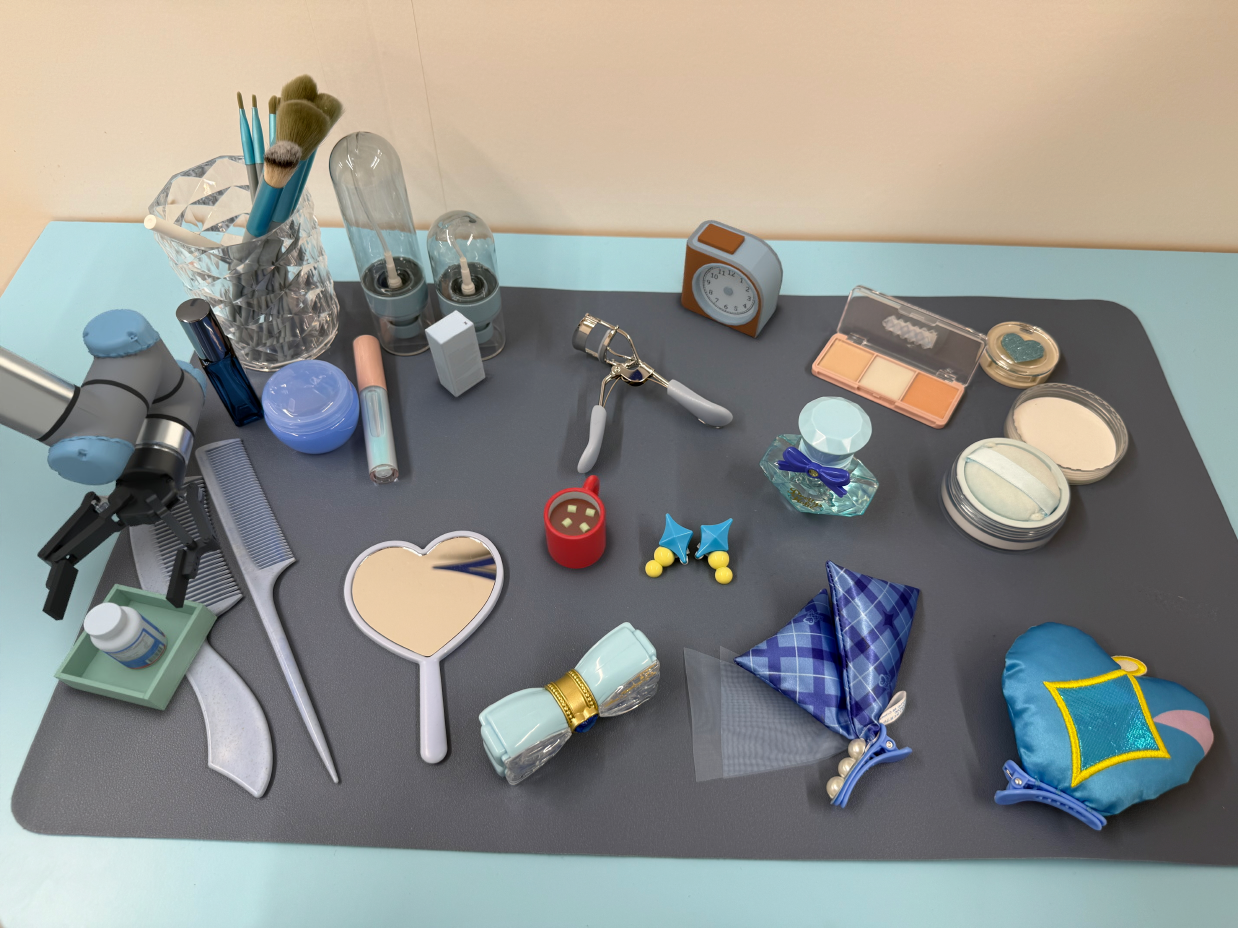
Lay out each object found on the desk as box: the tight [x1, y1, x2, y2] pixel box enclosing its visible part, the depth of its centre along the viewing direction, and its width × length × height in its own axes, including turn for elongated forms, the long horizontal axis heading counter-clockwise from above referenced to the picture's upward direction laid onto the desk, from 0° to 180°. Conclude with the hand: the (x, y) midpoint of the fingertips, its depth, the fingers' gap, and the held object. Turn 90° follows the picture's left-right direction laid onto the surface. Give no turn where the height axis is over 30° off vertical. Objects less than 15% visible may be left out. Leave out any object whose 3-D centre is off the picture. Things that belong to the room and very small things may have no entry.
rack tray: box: [53, 583, 218, 712], centre depth 94 cm, size 12×12×4 cm
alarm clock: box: [680, 219, 784, 339], centre depth 125 cm, size 15×8×14 cm, turn 58°
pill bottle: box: [83, 602, 167, 669], centre depth 91 cm, size 6×5×10 cm
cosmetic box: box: [424, 309, 486, 398], centre depth 116 cm, size 6×4×12 cm
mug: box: [543, 474, 606, 570], centre depth 102 cm, size 8×12×8 cm, turn 164°
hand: (113, 609), depth 89 cm, fingers open, 13 cm apart
